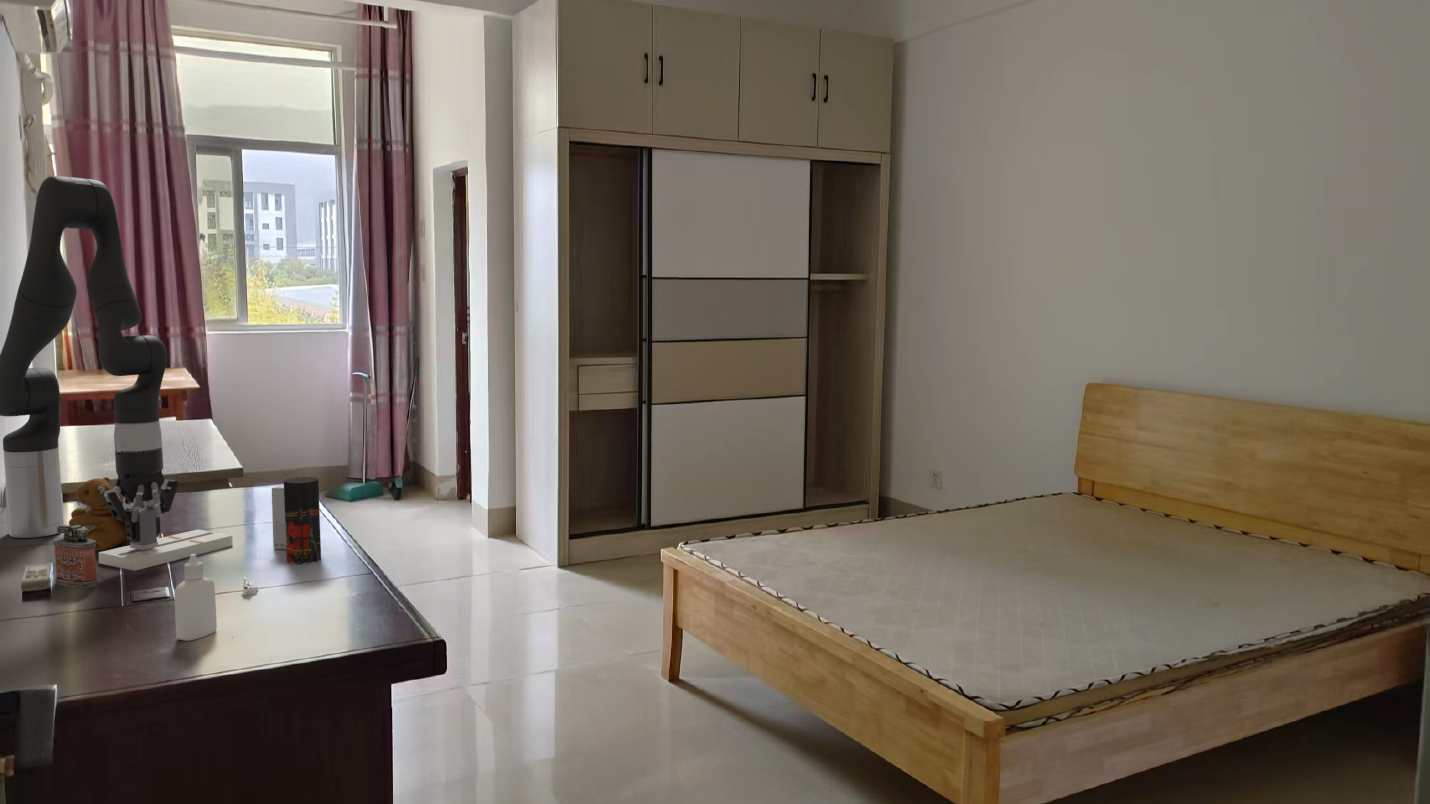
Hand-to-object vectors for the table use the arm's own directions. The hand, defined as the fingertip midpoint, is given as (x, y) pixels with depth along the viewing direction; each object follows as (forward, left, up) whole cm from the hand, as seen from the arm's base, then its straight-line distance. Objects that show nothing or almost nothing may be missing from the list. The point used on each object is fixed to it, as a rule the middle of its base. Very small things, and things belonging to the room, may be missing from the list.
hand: (143, 539), depth 189 cm
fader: (0, 0, -2) cm, 2 cm away
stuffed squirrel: (-16, +4, -4) cm, 17 cm away
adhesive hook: (+35, -4, -5) cm, 35 cm away
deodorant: (+25, +14, -4) cm, 29 cm away
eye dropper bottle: (+44, -22, -4) cm, 49 cm away
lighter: (+4, -15, -4) cm, 16 cm away
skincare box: (+15, +20, -4) cm, 25 cm away
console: (0, +5, -4) cm, 6 cm away
